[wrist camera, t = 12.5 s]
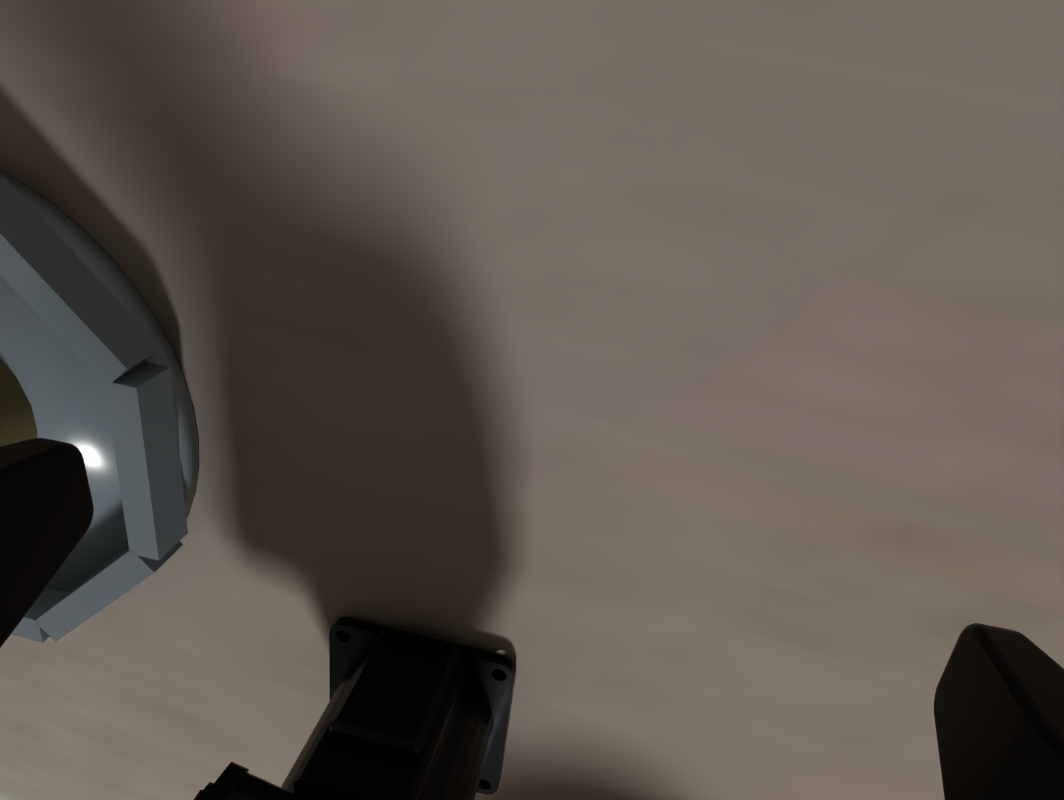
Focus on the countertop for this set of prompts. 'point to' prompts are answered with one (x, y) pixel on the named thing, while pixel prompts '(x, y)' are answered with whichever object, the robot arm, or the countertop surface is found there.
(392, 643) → the robot arm
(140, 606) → the countertop surface
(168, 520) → the dish
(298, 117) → the countertop surface
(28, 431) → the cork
